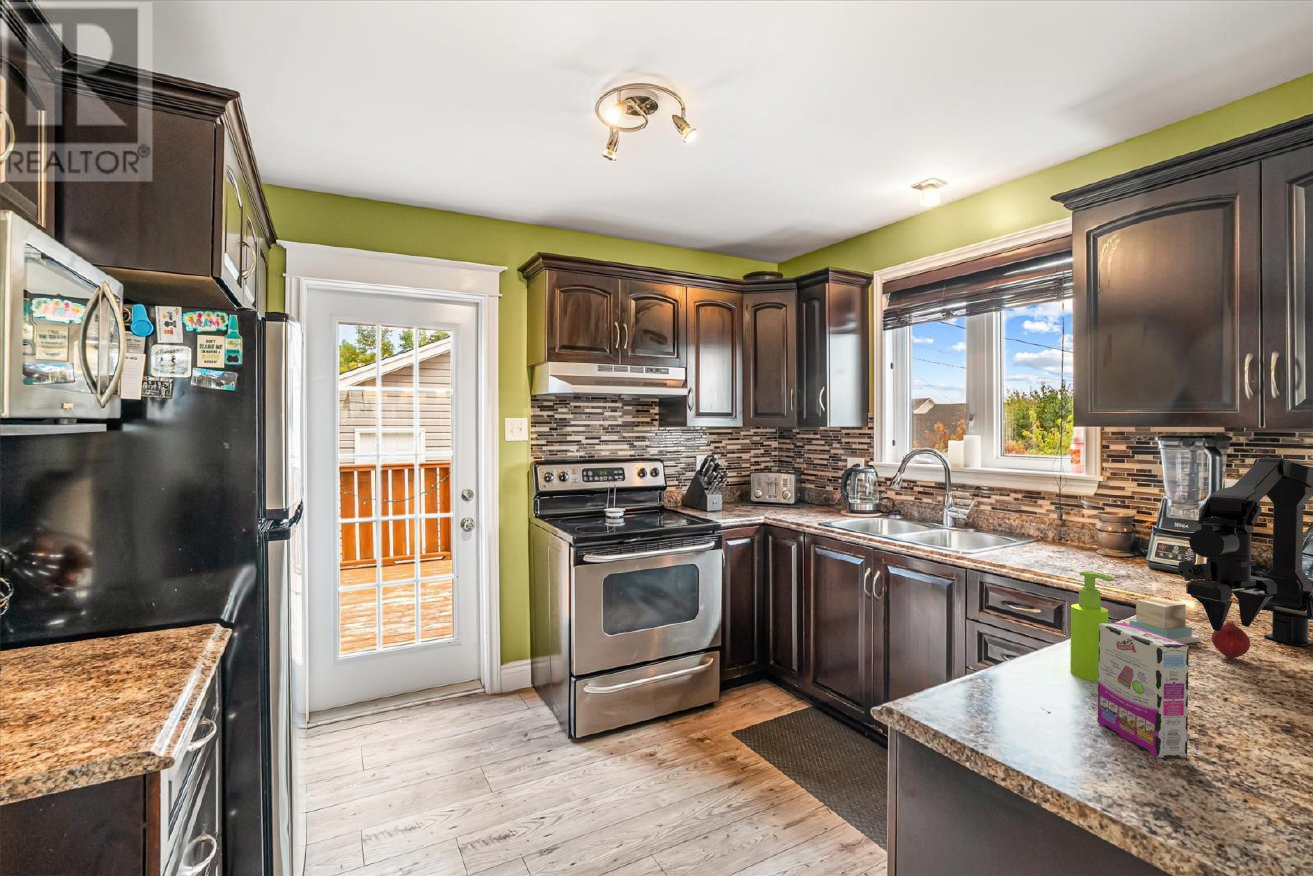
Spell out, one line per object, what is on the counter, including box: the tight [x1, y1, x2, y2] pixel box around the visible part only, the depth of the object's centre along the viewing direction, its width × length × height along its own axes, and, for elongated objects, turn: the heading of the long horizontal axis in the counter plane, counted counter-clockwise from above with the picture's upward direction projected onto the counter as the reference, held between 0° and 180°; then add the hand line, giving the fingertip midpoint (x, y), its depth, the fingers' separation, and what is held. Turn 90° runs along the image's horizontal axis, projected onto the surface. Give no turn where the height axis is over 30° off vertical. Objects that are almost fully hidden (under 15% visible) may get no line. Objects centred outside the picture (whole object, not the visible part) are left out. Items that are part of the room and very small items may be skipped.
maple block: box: [1135, 597, 1187, 629], centre depth 140 cm, size 7×6×5 cm
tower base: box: [1129, 618, 1201, 645], centre depth 140 cm, size 10×10×3 cm
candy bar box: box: [1097, 622, 1190, 759], centre depth 93 cm, size 11×5×16 cm, turn 5°
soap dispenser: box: [1070, 570, 1116, 682], centre depth 117 cm, size 6×7×20 cm
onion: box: [1211, 619, 1251, 660], centre depth 127 cm, size 6×6×8 cm
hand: (1231, 628), depth 127 cm, fingers open, 9 cm apart
